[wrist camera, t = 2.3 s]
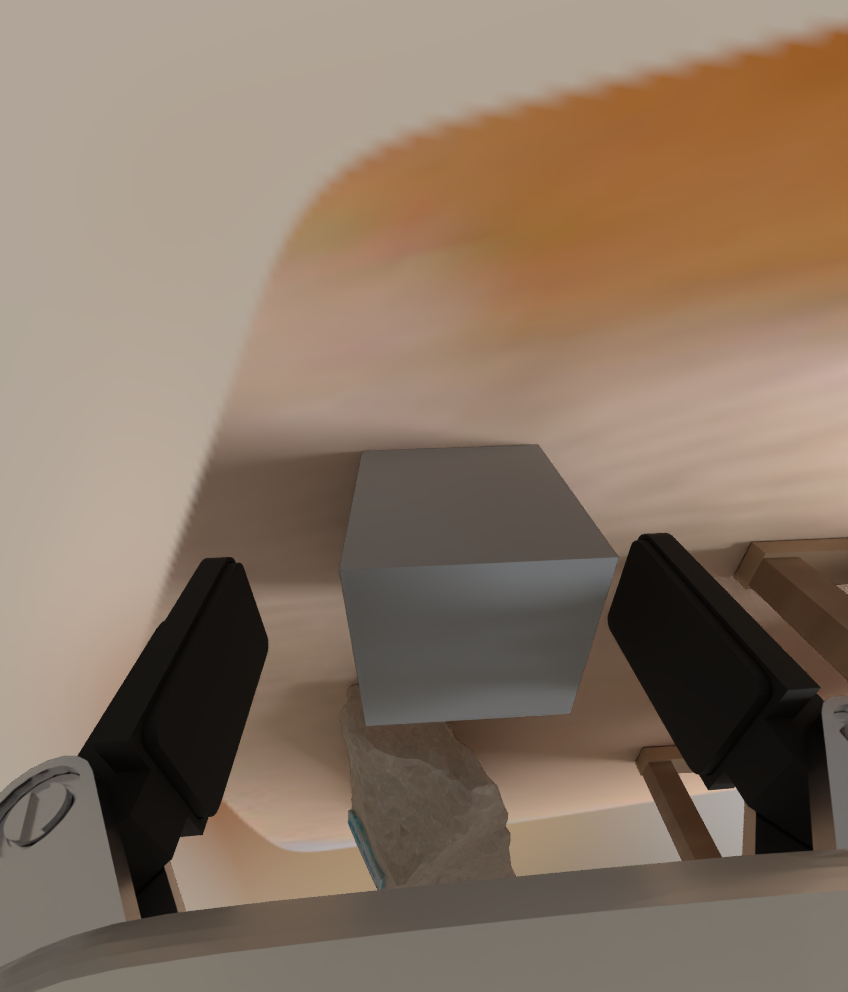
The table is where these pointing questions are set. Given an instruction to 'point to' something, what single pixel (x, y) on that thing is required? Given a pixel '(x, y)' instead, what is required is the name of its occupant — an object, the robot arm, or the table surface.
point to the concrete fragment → (421, 804)
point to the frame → (810, 611)
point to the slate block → (470, 584)
